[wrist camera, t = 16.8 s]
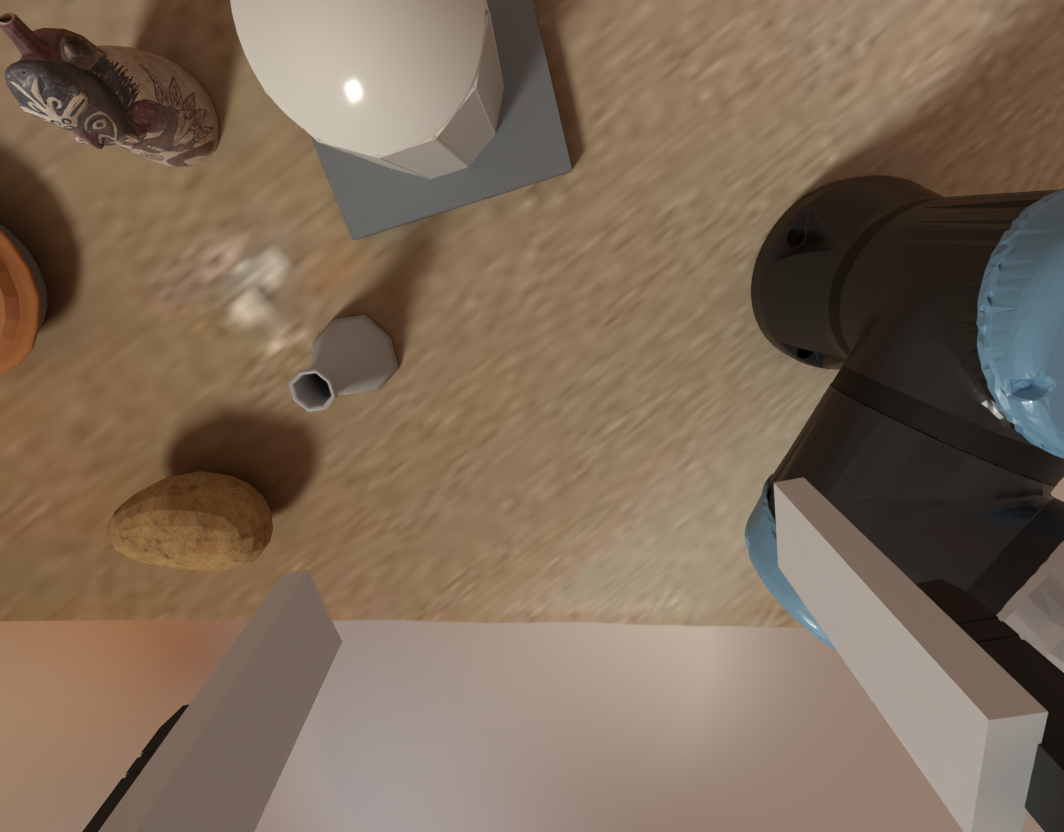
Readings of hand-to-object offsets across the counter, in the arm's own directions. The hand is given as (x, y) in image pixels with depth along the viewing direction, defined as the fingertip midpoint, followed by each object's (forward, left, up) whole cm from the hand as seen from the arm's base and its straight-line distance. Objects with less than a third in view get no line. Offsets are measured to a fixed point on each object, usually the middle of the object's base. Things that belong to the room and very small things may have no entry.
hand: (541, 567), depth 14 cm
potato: (+35, +8, -32) cm, 48 cm away
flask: (+16, -2, -32) cm, 36 cm away
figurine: (+22, -23, -32) cm, 45 cm away
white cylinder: (+3, -19, -30) cm, 36 cm away
